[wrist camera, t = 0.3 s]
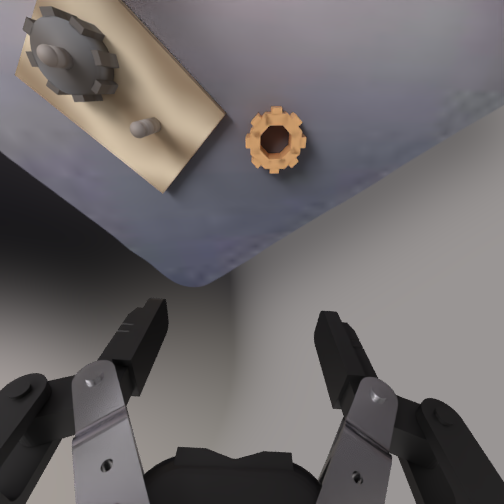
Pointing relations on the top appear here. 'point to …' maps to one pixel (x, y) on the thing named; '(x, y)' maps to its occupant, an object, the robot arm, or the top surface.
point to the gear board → (117, 84)
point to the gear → (289, 152)
